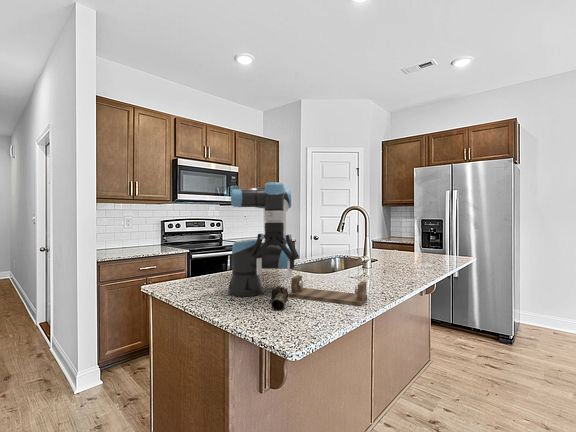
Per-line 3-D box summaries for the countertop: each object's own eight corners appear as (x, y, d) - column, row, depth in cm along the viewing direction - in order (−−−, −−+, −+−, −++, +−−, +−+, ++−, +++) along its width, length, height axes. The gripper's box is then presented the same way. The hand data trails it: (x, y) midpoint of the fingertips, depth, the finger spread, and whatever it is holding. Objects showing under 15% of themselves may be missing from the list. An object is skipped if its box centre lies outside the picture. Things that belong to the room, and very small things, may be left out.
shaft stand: (288, 297, 136) (288, 279, 136) (299, 290, 147) (299, 274, 147) (361, 306, 124) (361, 286, 124) (367, 298, 135) (367, 280, 134)
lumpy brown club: (284, 311, 118) (284, 296, 118) (266, 311, 119) (266, 295, 119) (289, 298, 136) (289, 284, 136) (273, 297, 137) (273, 284, 137)
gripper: (242, 221, 129) (242, 274, 129) (299, 222, 119) (299, 280, 119) (251, 221, 136) (251, 271, 136) (307, 222, 125) (307, 276, 126)
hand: (274, 275), depth 128 cm, fingers open, 13 cm apart
